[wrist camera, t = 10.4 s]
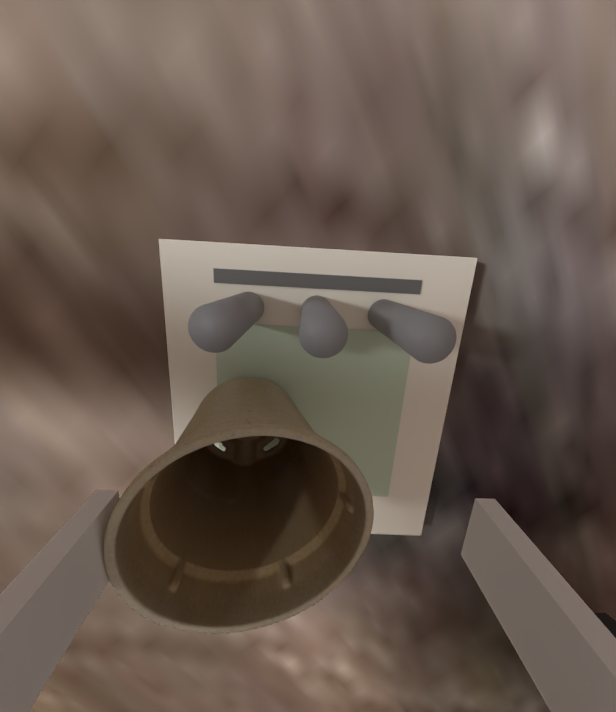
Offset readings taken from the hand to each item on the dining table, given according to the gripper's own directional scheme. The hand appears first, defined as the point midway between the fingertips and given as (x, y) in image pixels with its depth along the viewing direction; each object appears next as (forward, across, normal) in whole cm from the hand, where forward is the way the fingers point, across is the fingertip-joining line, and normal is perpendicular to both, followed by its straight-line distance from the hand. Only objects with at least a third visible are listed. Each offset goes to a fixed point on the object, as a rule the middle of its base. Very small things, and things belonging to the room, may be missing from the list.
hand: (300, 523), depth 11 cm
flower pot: (+8, -3, 0) cm, 9 cm away
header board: (+10, +1, 0) cm, 10 cm away
